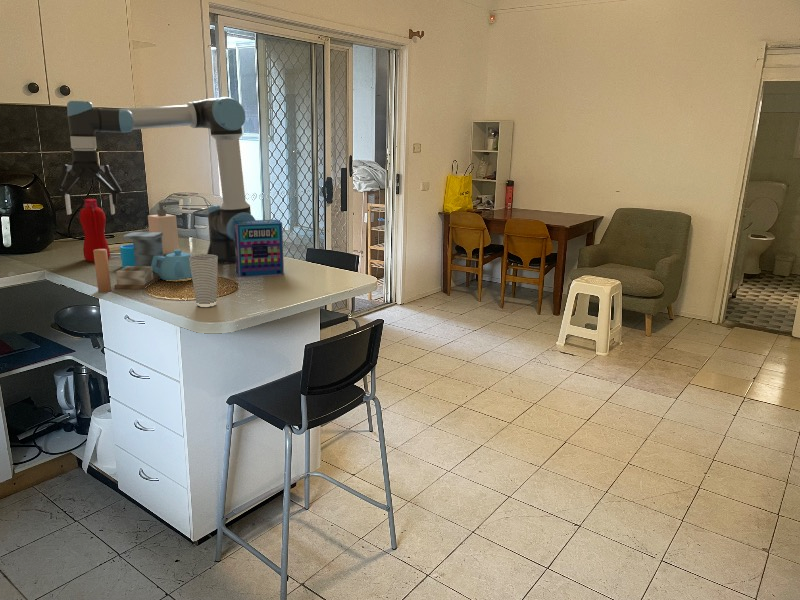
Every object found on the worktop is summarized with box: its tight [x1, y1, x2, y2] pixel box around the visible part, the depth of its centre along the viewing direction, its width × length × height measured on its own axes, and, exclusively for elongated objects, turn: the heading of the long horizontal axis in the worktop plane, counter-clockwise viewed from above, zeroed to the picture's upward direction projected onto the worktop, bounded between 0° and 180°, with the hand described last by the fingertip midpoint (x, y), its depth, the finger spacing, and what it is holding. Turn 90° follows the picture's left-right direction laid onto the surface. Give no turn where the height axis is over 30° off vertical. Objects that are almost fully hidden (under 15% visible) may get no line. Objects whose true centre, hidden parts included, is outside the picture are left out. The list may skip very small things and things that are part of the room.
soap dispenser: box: [147, 200, 180, 255], centre depth 263 cm, size 13×9×22 cm
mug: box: [119, 243, 135, 268], centre depth 236 cm, size 12×8×8 cm
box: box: [234, 219, 285, 278], centre depth 226 cm, size 17×9×20 cm, turn 111°
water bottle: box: [78, 198, 111, 263], centre depth 242 cm, size 9×11×25 cm
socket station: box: [114, 231, 164, 290], centre depth 211 cm, size 11×20×16 cm, turn 1°
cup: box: [189, 253, 219, 304], centre depth 184 cm, size 8×8×16 cm
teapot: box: [151, 249, 192, 281], centre depth 218 cm, size 15×15×11 cm
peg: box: [93, 249, 112, 293], centre depth 198 cm, size 4×4×14 cm
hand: (91, 214), depth 203 cm, fingers open, 13 cm apart
